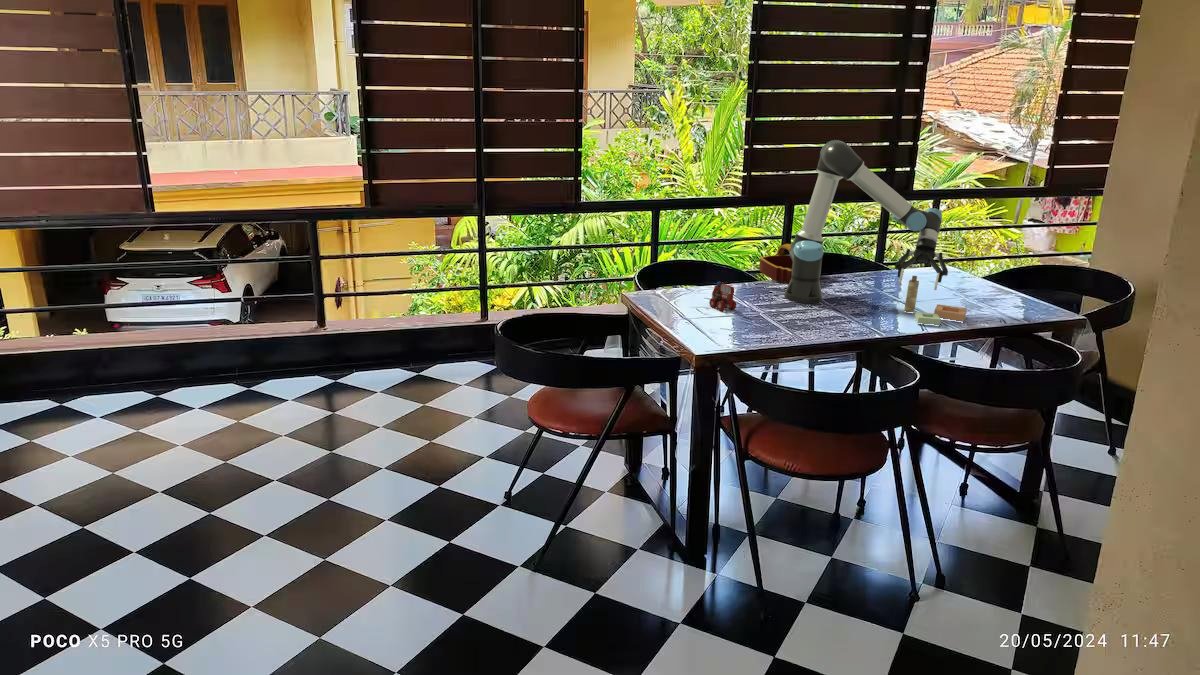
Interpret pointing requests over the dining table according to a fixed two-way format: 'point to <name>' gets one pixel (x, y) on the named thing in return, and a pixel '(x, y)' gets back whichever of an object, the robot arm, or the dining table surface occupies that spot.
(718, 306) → the toy fire truck
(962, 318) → the orange square frame
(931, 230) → the robot arm
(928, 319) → the green square ring
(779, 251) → the decorative basket
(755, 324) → the dining table surface
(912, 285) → the peg block
